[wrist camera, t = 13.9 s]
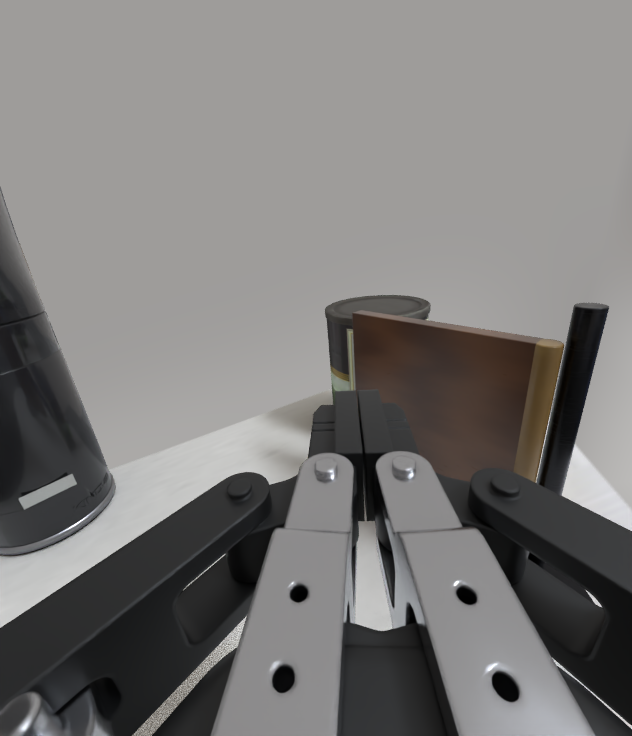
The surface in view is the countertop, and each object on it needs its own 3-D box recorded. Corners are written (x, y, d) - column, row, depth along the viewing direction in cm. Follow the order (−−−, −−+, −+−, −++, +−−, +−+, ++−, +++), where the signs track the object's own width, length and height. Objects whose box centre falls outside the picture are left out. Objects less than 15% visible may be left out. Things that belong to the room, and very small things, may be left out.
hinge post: (501, 626, 18) (561, 328, 12) (463, 535, 24) (490, 297, 17) (596, 627, 18) (713, 319, 11) (535, 534, 23) (591, 290, 17)
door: (357, 468, 29) (350, 313, 24) (367, 462, 30) (362, 309, 25) (513, 569, 20) (559, 348, 14) (521, 557, 20) (568, 341, 15)
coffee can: (315, 432, 38) (303, 311, 33) (365, 397, 45) (362, 292, 40) (395, 466, 31) (397, 321, 26) (439, 419, 38) (447, 297, 33)
